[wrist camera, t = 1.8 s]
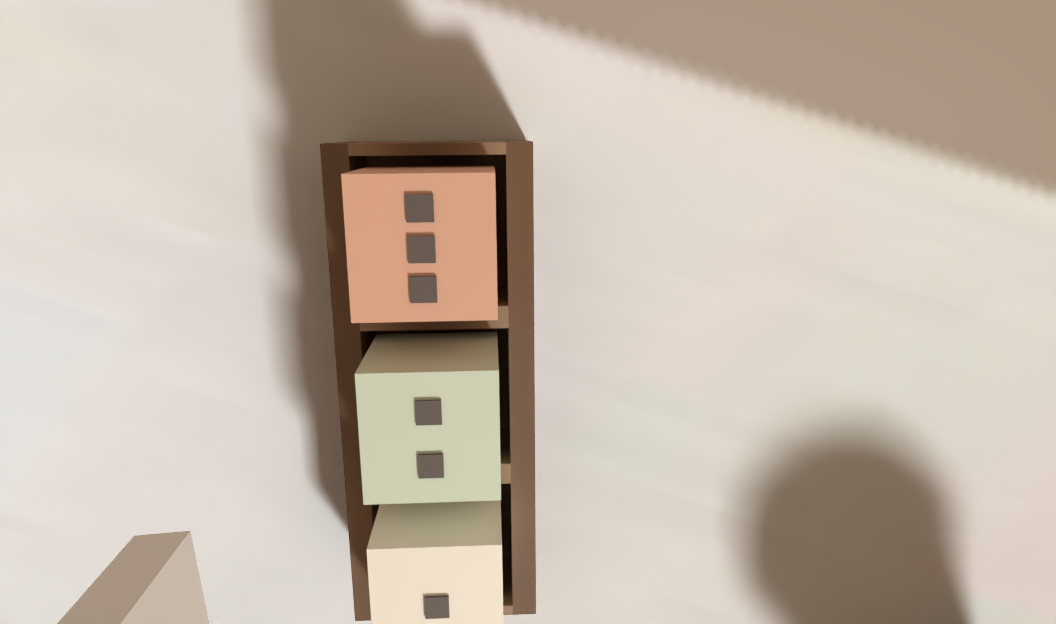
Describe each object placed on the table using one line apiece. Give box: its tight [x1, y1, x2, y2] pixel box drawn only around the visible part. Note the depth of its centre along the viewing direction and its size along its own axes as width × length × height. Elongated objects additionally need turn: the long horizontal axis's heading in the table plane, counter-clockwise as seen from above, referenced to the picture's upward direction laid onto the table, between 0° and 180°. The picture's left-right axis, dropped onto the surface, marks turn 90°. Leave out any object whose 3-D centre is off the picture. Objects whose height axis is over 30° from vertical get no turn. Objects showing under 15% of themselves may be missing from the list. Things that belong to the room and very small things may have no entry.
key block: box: [320, 141, 536, 621], centre depth 28 cm, size 7×18×4 cm, turn 0°
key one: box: [366, 500, 503, 624], centre depth 27 cm, size 4×4×5 cm
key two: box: [355, 332, 501, 505], centre depth 25 cm, size 4×4×5 cm
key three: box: [341, 166, 498, 323], centre depth 24 cm, size 4×4×5 cm
